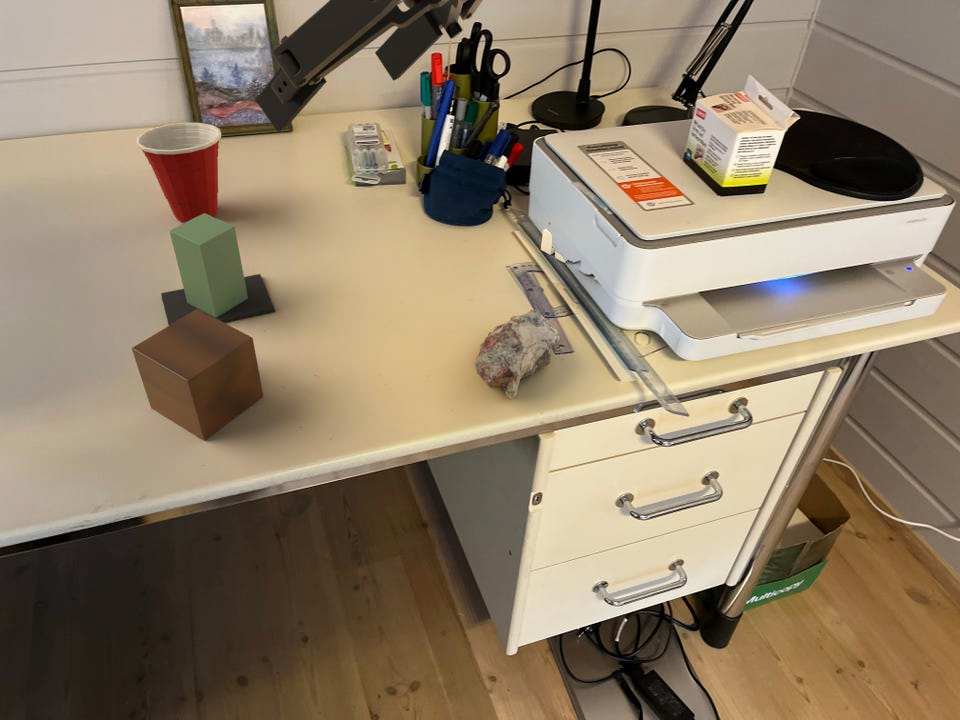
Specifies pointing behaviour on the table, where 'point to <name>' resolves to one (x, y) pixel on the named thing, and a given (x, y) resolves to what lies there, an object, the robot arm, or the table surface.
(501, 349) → the mineral rock
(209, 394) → the base block
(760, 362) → the table surface
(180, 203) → the plastic cup
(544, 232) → the modular blocks
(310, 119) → the table surface
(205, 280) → the top block
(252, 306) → the mat
